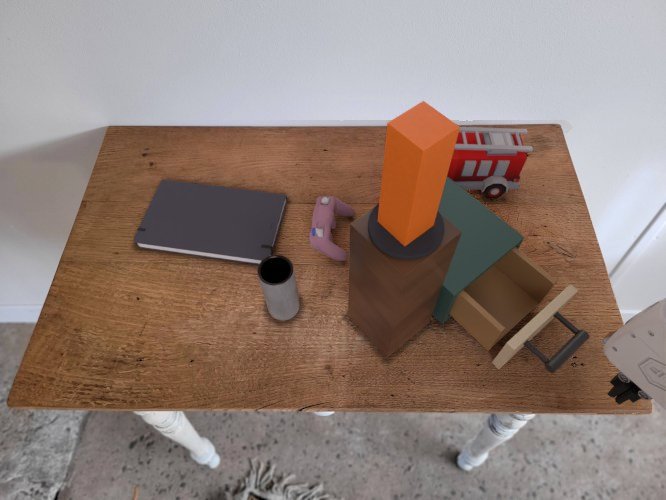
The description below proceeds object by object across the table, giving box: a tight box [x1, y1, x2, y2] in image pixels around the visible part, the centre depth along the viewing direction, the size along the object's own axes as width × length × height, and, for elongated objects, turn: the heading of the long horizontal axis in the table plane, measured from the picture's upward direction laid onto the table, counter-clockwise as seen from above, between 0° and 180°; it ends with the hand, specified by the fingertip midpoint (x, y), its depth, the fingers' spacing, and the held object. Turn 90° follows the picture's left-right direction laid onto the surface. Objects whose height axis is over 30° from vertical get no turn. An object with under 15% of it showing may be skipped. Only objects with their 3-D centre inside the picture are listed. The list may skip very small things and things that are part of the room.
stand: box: [347, 207, 462, 359], centre depth 58 cm, size 8×8×22 cm
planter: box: [256, 254, 301, 321], centre depth 64 cm, size 4×4×10 cm
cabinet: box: [432, 177, 525, 325], centre depth 69 cm, size 15×14×9 cm
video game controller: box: [308, 195, 355, 262], centre depth 73 cm, size 10×5×7 cm, turn 172°
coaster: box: [368, 203, 444, 259], centre depth 49 cm, size 8×8×1 cm
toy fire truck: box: [447, 126, 534, 200], centre depth 77 cm, size 9×19×10 cm, turn 90°
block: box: [378, 100, 461, 246], centre depth 43 cm, size 4×4×13 cm
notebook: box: [133, 178, 288, 266], centre depth 76 cm, size 13×2×21 cm
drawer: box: [449, 247, 591, 374], centre depth 63 cm, size 18×12×7 cm
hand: (620, 391), depth 56 cm, fingers closed
